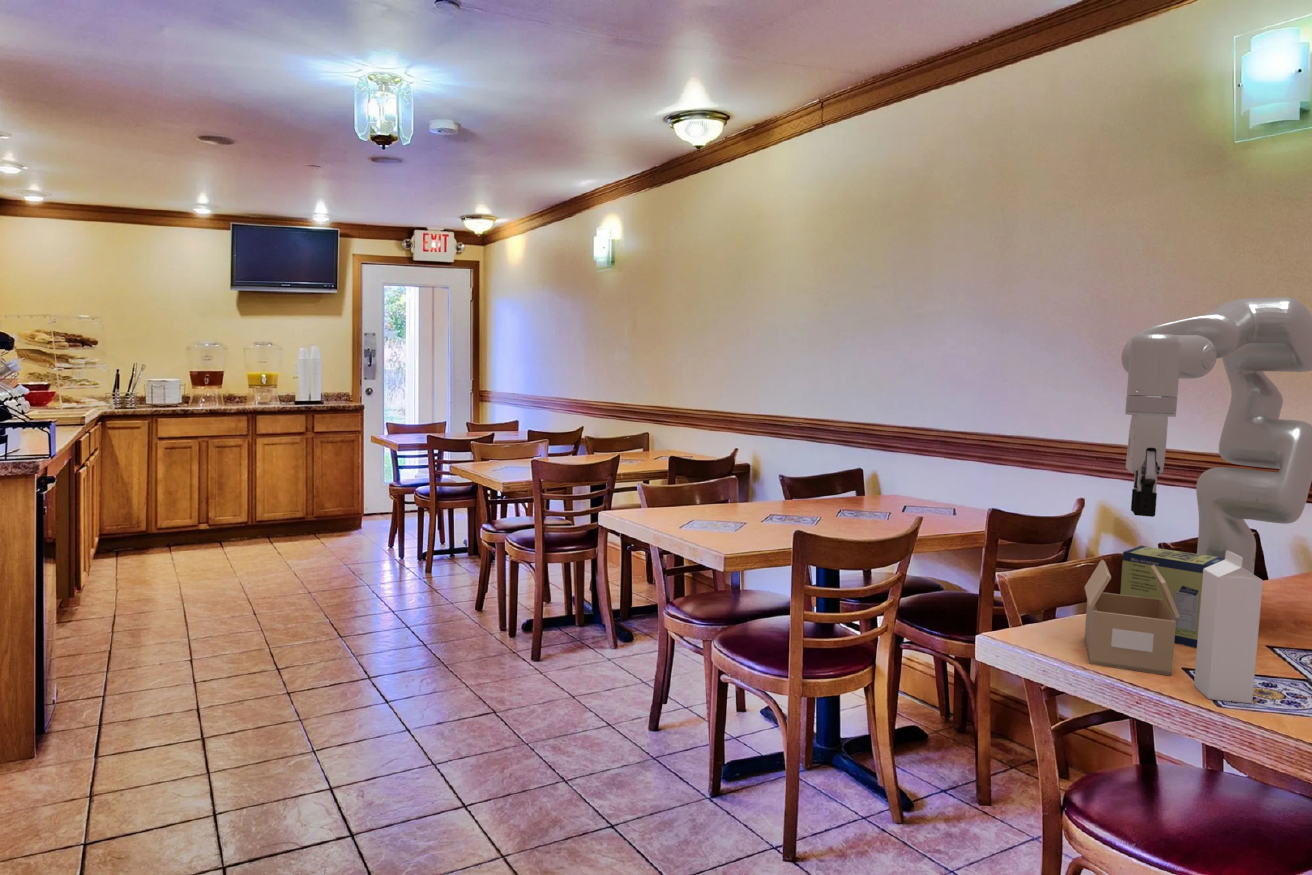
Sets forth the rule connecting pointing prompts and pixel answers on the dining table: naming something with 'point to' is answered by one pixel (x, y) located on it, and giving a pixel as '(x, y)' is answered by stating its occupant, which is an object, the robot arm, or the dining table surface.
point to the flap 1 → (1097, 583)
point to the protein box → (1169, 583)
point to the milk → (1228, 631)
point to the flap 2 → (1165, 591)
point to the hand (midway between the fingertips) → (1142, 513)
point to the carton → (1130, 633)
